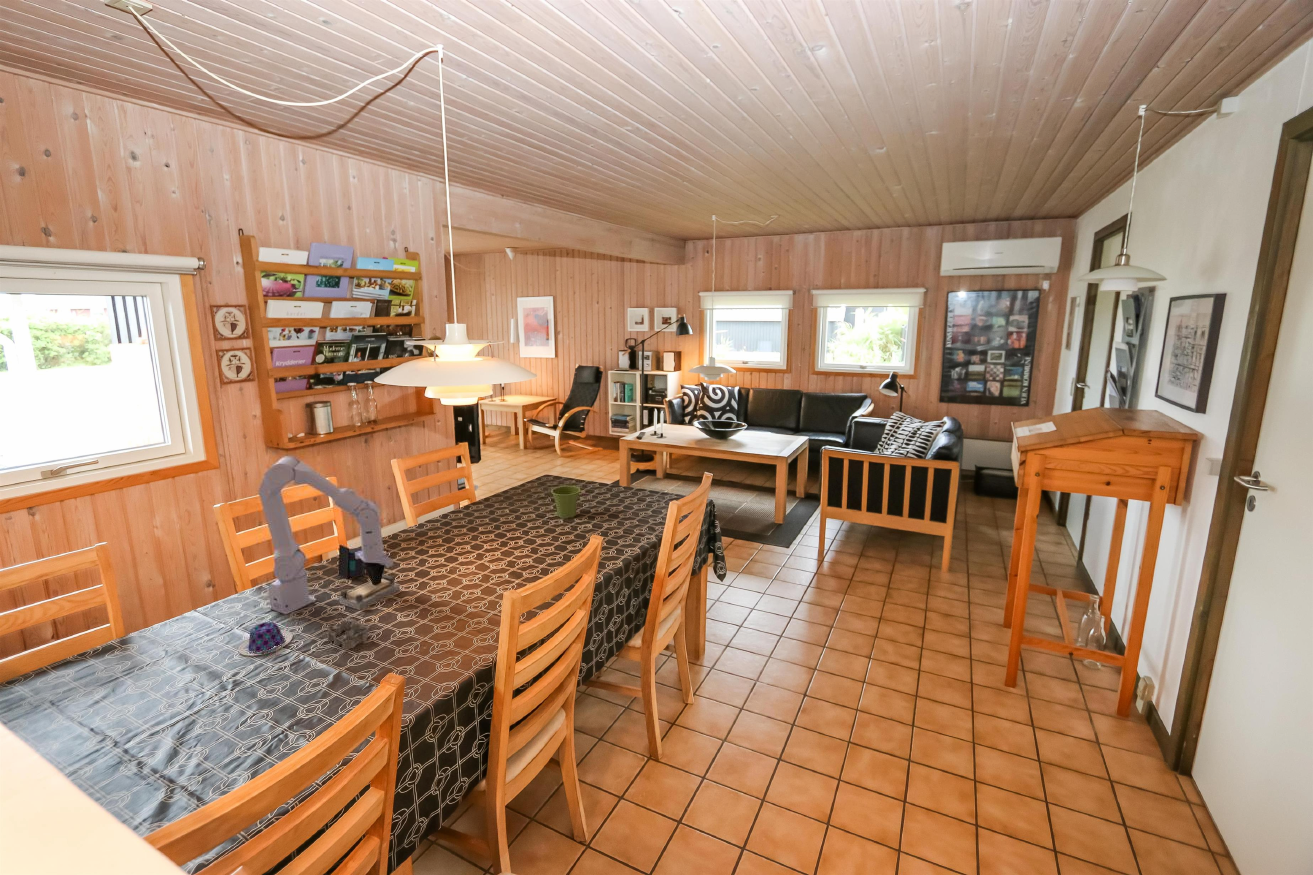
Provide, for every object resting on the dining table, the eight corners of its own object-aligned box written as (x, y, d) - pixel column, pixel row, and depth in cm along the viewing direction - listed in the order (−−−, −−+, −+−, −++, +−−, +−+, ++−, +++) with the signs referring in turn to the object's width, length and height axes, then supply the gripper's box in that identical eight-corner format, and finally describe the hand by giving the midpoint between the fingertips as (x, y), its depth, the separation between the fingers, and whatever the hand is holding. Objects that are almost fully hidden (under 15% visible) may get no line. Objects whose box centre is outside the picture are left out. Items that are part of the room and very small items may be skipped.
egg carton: (323, 639, 161) (321, 625, 160) (351, 627, 167) (349, 613, 166) (345, 652, 155) (343, 637, 154) (372, 639, 161) (371, 625, 160)
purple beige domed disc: (249, 636, 163) (246, 618, 162) (298, 629, 166) (296, 612, 165) (231, 661, 151) (227, 642, 150) (284, 654, 154) (281, 635, 153)
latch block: (360, 610, 176) (358, 597, 175) (339, 603, 180) (338, 591, 179) (399, 590, 188) (398, 578, 187) (379, 584, 192) (378, 572, 191)
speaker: (340, 581, 193) (340, 549, 192) (338, 575, 198) (338, 544, 196) (366, 577, 197) (366, 546, 196) (363, 571, 202) (363, 541, 201)
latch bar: (357, 600, 177) (357, 598, 177) (346, 596, 179) (346, 594, 179) (390, 583, 187) (390, 580, 186) (379, 580, 189) (379, 577, 189)
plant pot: (553, 511, 257) (552, 486, 255) (581, 510, 258) (580, 485, 256) (551, 521, 246) (550, 495, 243) (580, 520, 247) (580, 494, 244)
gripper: (399, 541, 182) (404, 583, 185) (367, 533, 189) (372, 573, 192) (379, 550, 176) (384, 593, 179) (346, 541, 183) (352, 583, 186)
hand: (376, 583), depth 185 cm, fingers closed, pressing on latch bar
